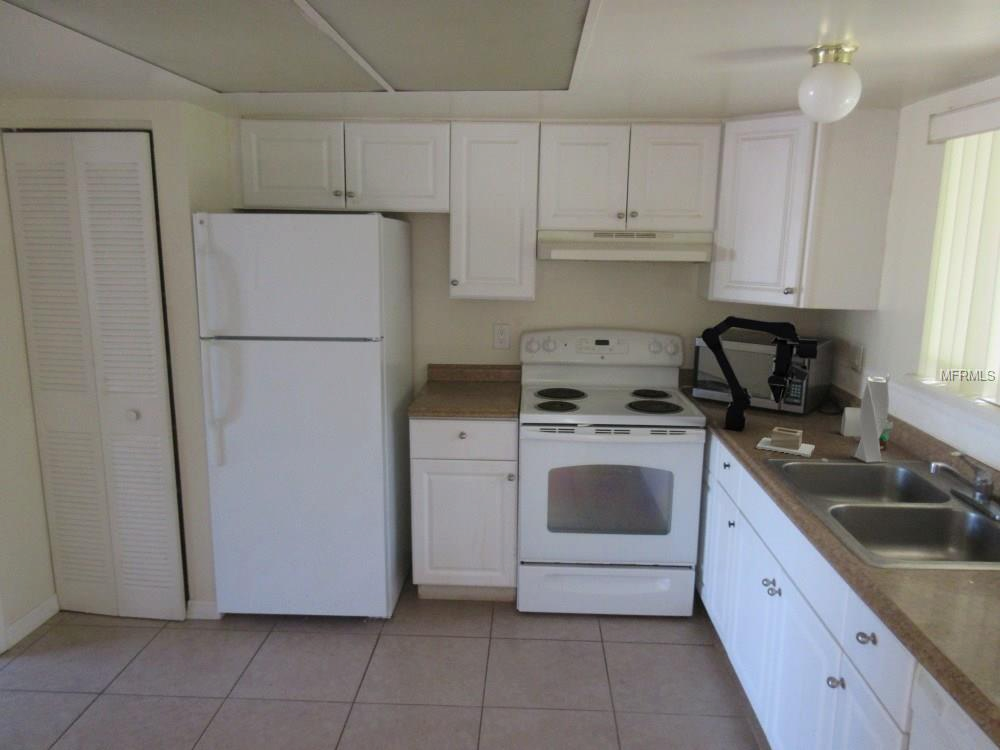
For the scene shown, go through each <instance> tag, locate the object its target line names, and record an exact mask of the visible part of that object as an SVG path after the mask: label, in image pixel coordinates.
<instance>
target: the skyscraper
mask: <svg viewBox="0 0 1000 750" xmlns="http://www.w3.org/2000/svg"><path fill="white" fill-rule="evenodd" d="M889 382H890V374H889V373H888V374H886V379H885V378H884V377H880V376H873V377H872V378H871V376H868V377H867V378H866V384H865V388H864V391H863V394H862V397H861V403H860V408H861V409H860V430H861V437H860V441H859V443H858V447H856V448H857V449H856V451H855V454H852V455H850V457H851V456H852V457H851V458H853V457H854V458H853V459H855V458H857V459H856V460H858V459H859V460H858V461H860V460H862V461H864V462H865V463H864V462H863V463H864V464H884V462H887V460H885V459H883V458H882V456H881V455H882V454H881V451H880V444H879V438H880V436H881V434H882V431H883V429H884V426H885V423H886V419H887V418H888V414H889V407H890V406H889V405H890V397H889V396H890V395H889V385H888V383H889ZM862 461H861V462H862ZM887 463H888V462H887Z"/></svg>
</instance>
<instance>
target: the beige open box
mask: <svg viewBox="0 0 1000 750" xmlns="http://www.w3.org/2000/svg"><path fill="white" fill-rule="evenodd" d="M784 431H785V432H784ZM803 431H804V430H800V429H794V428H786V427H780V426H775V427H774V428H773V429H772V430H771V437H770V438H771V445H770V446H776V447H782V448H788V449H794V450H798V449H799V448H800V446H801V443H802V442H803ZM790 432H792V433H790Z"/></svg>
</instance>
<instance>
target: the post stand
mask: <svg viewBox="0 0 1000 750" xmlns="http://www.w3.org/2000/svg"><path fill="white" fill-rule="evenodd" d="M784 432H785V431H784ZM790 433H792V432H790ZM770 445H771V437H763V438H762V439H761V440H760V441H759V442H758V444H757V445H756V448H757V450H761V449H766V450H765V451H767V450H772V451H771V452H773V451H778V452H777V453H779V452H784V453H783V454H785V453H789V454H788V455H791V454H794V455H793V456H797V455H801V456H800V457H803V456H804V458H810V457H811V455H812V454H813V452H814V449H816V448H815V445H814V444H808V443H802V442H801V446H800V448H799V449H798V450H794V449H788V448H782V447H776V446H770ZM812 451H813V452H812ZM811 453H812V454H811Z"/></svg>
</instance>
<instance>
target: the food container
mask: <svg viewBox="0 0 1000 750" xmlns="http://www.w3.org/2000/svg"><path fill="white" fill-rule="evenodd" d="M893 428H894V422H893V420H892V419H891V418H889V417H887V419H886V423H885V426H884V429H883V431H882V434H881V436H880V438H879V444H880V452H883V451H886V450H887V447H888V444H889V439H890V434H891V431H892V430H891V429H893Z"/></svg>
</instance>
